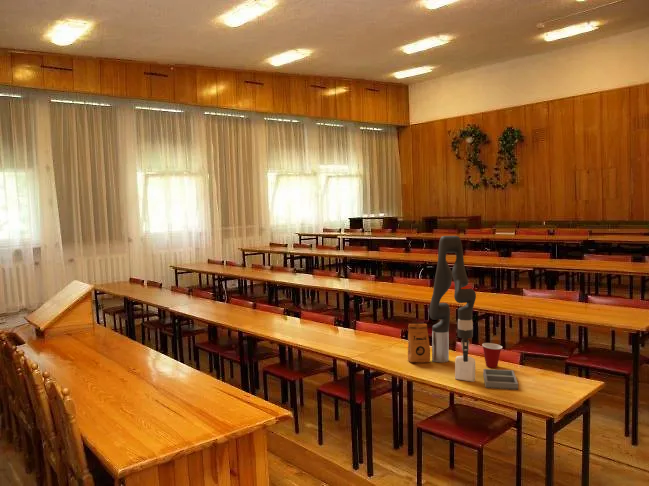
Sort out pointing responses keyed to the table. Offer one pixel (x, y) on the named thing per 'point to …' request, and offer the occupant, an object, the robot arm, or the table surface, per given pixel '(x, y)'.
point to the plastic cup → (491, 354)
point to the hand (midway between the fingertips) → (465, 359)
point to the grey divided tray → (500, 379)
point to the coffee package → (418, 343)
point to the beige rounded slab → (465, 369)
